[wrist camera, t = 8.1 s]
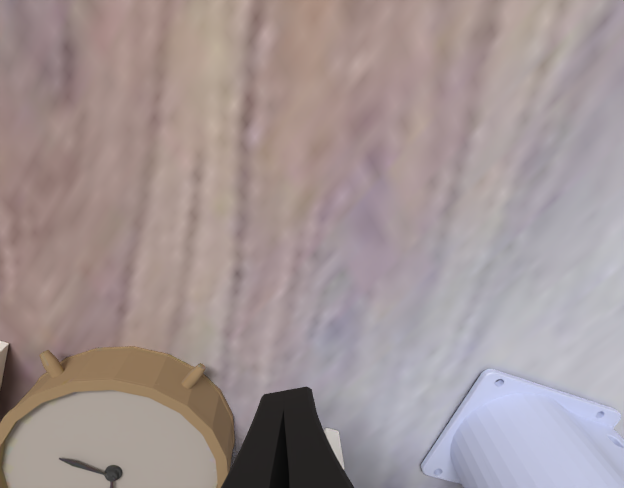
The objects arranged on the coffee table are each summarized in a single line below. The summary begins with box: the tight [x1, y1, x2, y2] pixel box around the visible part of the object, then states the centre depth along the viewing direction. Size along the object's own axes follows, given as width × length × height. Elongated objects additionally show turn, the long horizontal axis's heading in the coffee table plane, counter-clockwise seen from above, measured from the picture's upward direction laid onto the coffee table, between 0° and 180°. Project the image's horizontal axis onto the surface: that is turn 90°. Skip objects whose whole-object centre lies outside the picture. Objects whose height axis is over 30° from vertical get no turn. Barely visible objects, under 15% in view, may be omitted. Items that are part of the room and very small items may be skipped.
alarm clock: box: [0, 346, 235, 488], centre depth 22 cm, size 11×5×15 cm
